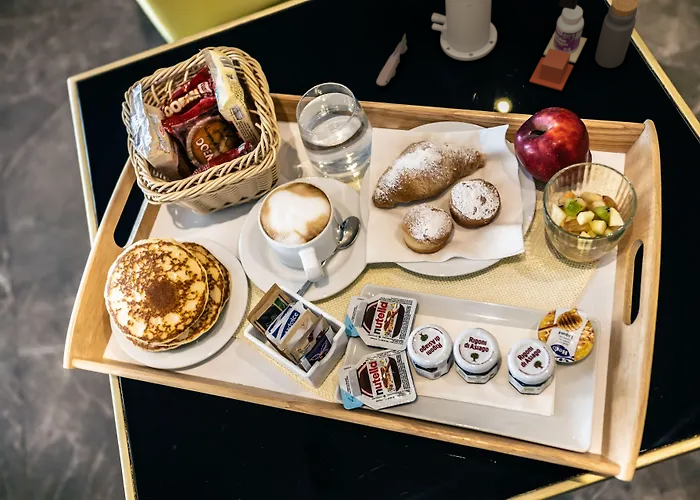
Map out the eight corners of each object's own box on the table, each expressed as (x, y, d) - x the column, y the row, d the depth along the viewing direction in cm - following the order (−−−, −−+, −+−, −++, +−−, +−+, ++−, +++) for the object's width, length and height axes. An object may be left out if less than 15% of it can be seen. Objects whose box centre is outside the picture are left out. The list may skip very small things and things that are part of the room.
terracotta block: (559, 84, 127) (562, 69, 123) (539, 78, 129) (541, 63, 125) (567, 68, 129) (570, 53, 125) (546, 63, 130) (549, 48, 126)
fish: (412, 49, 139) (410, 33, 135) (386, 95, 135) (383, 80, 130) (402, 47, 140) (399, 30, 136) (375, 92, 136) (372, 77, 131)
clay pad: (529, 82, 130) (529, 80, 129) (541, 58, 132) (541, 56, 131) (561, 91, 127) (561, 89, 127) (573, 66, 129) (573, 65, 129)
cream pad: (543, 54, 132) (543, 53, 132) (555, 32, 134) (555, 30, 134) (575, 63, 130) (575, 61, 129) (586, 39, 132) (586, 38, 131)
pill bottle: (548, 50, 132) (553, 16, 123) (560, 33, 133) (566, -2, 125) (571, 58, 130) (578, 24, 121) (583, 41, 131) (591, 6, 123)
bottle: (623, 68, 127) (641, 13, 113) (594, 68, 128) (608, 13, 115) (624, 47, 129) (641, -10, 116) (595, 46, 131) (609, -10, 117)
